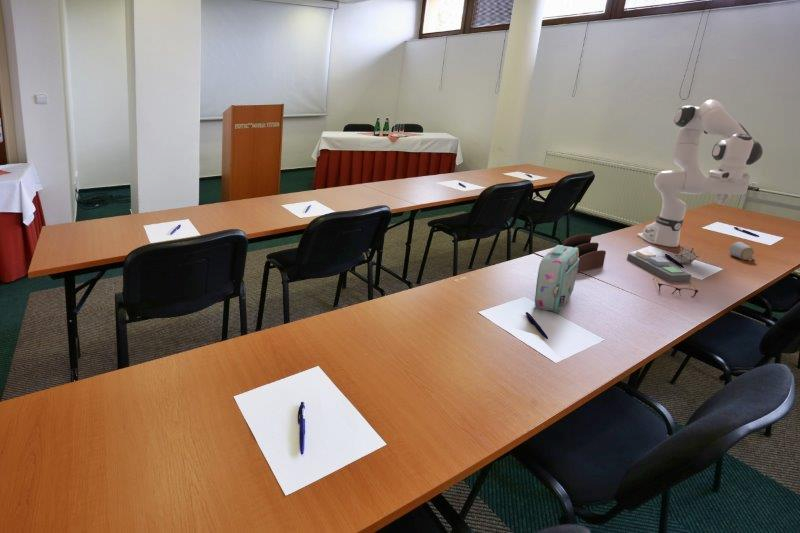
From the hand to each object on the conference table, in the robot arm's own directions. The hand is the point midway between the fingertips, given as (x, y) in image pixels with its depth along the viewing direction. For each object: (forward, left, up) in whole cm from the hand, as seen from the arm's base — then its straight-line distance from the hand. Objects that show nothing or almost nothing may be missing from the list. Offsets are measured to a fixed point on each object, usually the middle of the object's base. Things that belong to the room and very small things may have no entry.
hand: (720, 203), depth 208 cm
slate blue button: (-1, -23, -30) cm, 38 cm away
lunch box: (+28, -93, -32) cm, 102 cm away
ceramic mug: (-14, +39, -32) cm, 52 cm away
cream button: (-9, -23, -30) cm, 39 cm away
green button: (+8, -23, -31) cm, 39 cm away
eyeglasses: (+20, -32, -32) cm, 50 cm away
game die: (-7, -2, -32) cm, 33 cm away
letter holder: (-7, -59, -32) cm, 67 cm away
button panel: (-1, -23, -32) cm, 39 cm away
